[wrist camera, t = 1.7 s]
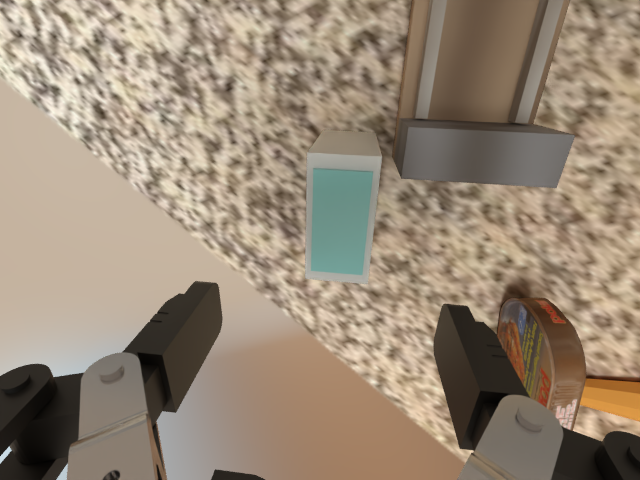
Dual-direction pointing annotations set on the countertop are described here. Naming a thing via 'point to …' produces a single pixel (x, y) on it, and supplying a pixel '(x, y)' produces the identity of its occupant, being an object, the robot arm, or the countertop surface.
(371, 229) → the block
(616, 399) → the orange rounded piece
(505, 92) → the rack
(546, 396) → the tin
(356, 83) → the countertop surface
